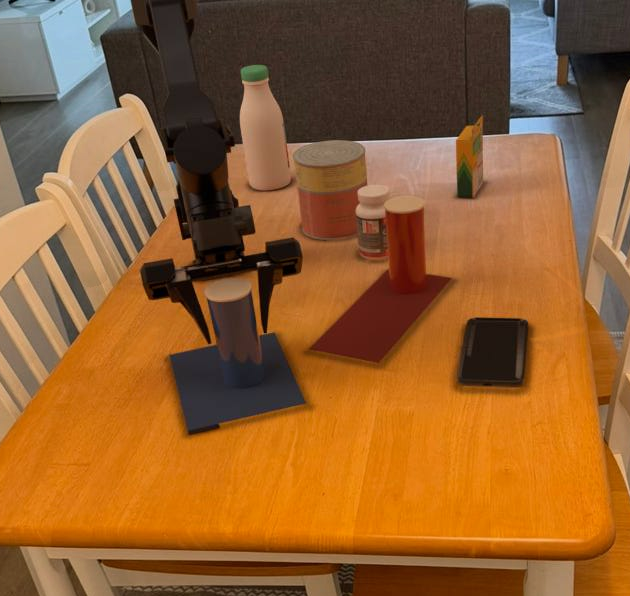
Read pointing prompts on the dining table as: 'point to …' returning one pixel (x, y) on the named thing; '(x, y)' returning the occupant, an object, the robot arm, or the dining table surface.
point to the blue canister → (236, 332)
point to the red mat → (377, 320)
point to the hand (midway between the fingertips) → (237, 337)
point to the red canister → (406, 244)
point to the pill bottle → (372, 221)
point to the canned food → (330, 187)
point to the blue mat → (227, 402)
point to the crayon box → (470, 160)
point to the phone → (493, 352)
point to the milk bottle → (263, 132)
